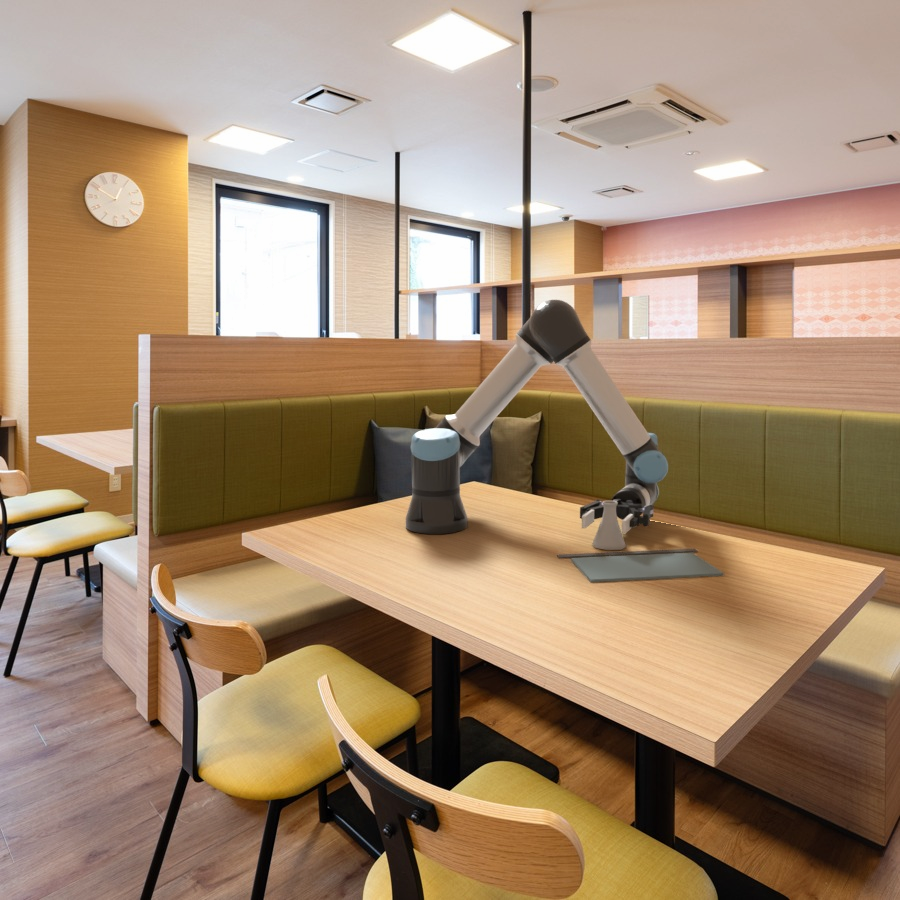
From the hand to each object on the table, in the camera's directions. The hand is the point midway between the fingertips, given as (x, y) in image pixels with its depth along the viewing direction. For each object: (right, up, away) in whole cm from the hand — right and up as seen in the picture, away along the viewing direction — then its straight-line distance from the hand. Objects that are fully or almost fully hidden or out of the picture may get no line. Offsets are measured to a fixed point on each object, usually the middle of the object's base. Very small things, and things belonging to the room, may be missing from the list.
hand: (603, 524), depth 142 cm
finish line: (+5, -6, -1) cm, 8 cm away
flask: (+2, -6, +5) cm, 8 cm away
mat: (+6, -7, -9) cm, 13 cm away
